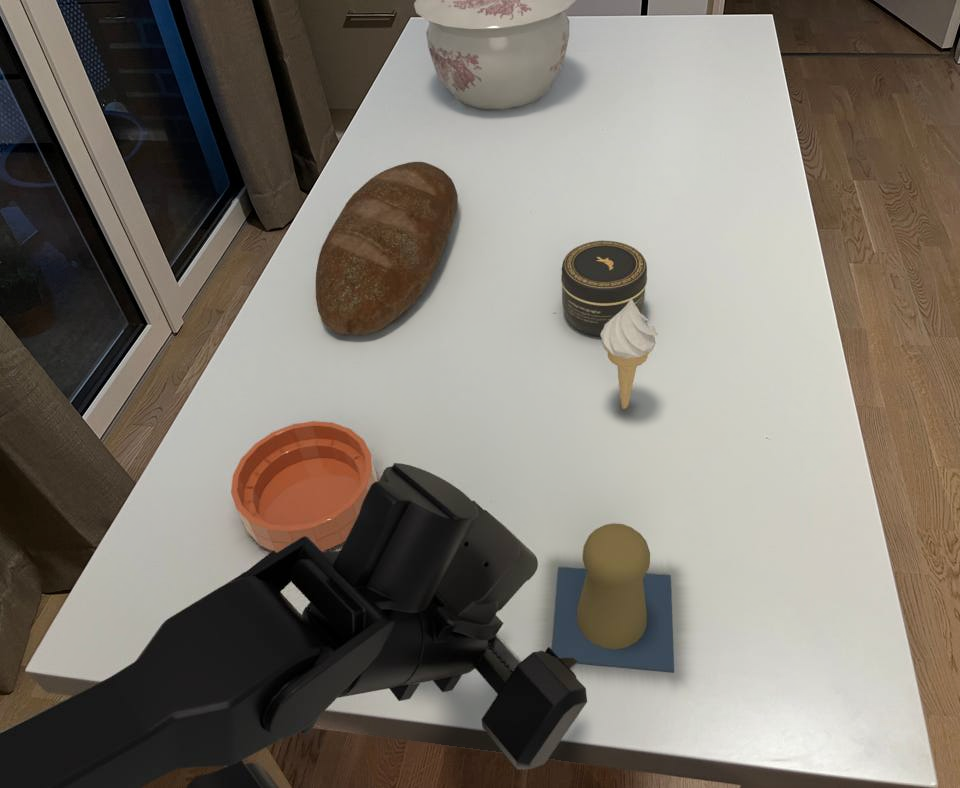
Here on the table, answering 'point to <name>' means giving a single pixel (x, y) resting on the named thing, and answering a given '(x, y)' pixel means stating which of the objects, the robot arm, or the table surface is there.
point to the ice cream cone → (628, 345)
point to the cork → (614, 587)
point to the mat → (643, 654)
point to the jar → (601, 283)
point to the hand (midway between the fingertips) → (530, 621)
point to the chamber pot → (496, 48)
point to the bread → (384, 247)
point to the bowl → (303, 485)
